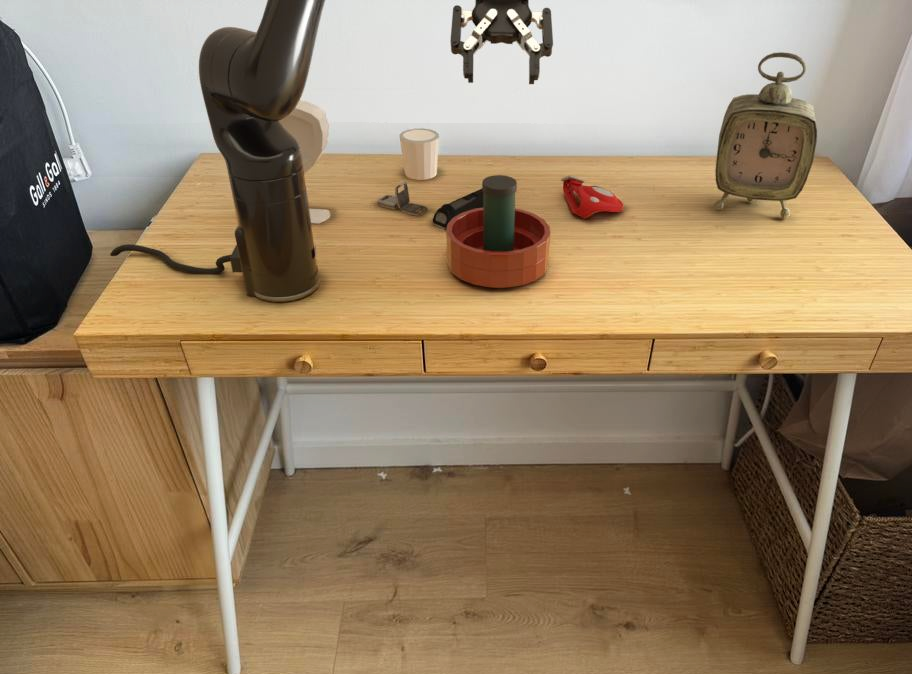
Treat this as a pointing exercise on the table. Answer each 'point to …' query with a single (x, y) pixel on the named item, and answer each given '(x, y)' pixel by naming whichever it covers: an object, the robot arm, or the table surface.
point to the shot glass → (420, 153)
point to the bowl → (498, 266)
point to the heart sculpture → (309, 140)
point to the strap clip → (401, 201)
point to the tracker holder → (589, 198)
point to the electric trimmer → (458, 208)
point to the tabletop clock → (766, 143)
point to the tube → (498, 213)
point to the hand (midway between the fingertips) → (501, 80)
